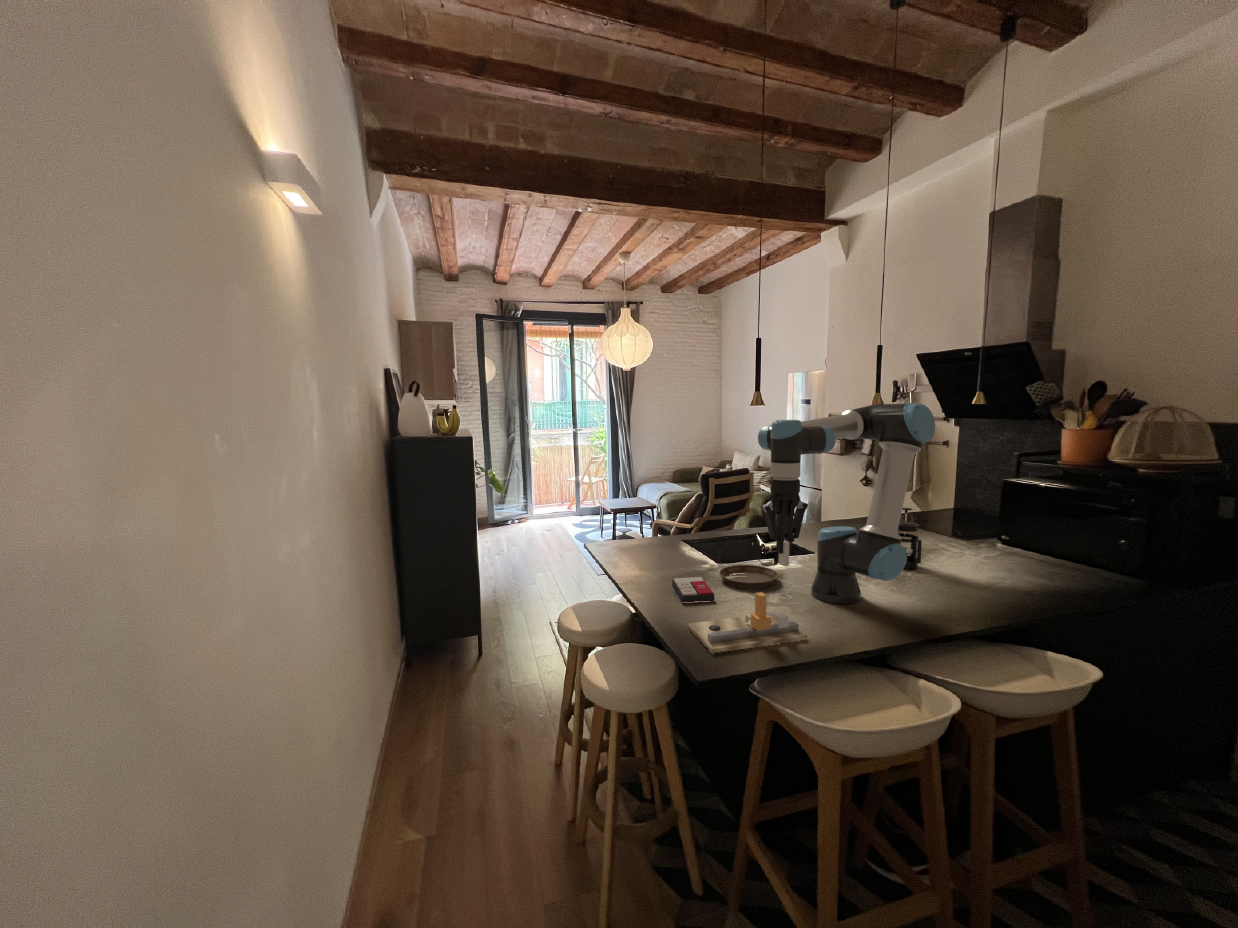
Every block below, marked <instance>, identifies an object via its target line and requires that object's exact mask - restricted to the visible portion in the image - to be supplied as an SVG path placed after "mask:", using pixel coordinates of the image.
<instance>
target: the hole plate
mask: <svg viewBox="0 0 1238 928" xmlns="http://www.w3.org/2000/svg"><path fill="white" fill-rule="evenodd" d="M770 613H771V614H772V615H773V613H777V612H776V611H774V612H770ZM745 616H746V615H744V616H737V617H729V618H721V619H715V620H707V621H706V620H705V621H699V622H692V623H688V624H687V628H688V627H689V628H690V630H691V631H692V632H693V633H694V634H695V635H696V636H697V637H698V639H700V641H701V642H702V643H703V644H704V645H705V647H707V648H708V650H709V651H710V652H711V653H714V652H720V651H731V650H738V649H744V648H749V647H759V648H761V647H760V646H765V645H770V644H777V643H785V644H788V643H787V642H791V643H794V642H793V641H798V642H801V641H800V640H805V641H807V640H808V634H807V633H805V632H804V631H802V630H801V629H800V628H799V631H798V632H791V633H784V634H777V635H770V636H764V637H757V638H750V639H743V640H736V641H729V642H723V643H716V644H710V643H709V642H708V634H709V633H716V632H723V631H730V630H737V629H744V628H752V626H751V621H750V620H749V622H745ZM771 625H773V624H772V620H771ZM690 630H689V631H690ZM698 639H697V640H698ZM700 641H699V642H700ZM705 647H704V648H705ZM765 647H766V646H765ZM708 650H707V651H708ZM709 651H708V652H709Z"/></svg>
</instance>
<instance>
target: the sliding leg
mask: <svg viewBox="0 0 1238 928" xmlns="http://www.w3.org/2000/svg"><path fill="white" fill-rule="evenodd" d="M754 596H755V597H754V613H746V614H745V615H744V616H745V622H749V620H750V621H751V626H752V627H753V628H755V629H756V630H757V631H759V630H766V629H771V617H770V616H768V615H767V614H766V612H767V598H768V597H767V595H766V594H765V593H764V592H763V591H760V592H755V594H754Z"/></svg>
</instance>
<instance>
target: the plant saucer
mask: <svg viewBox="0 0 1238 928" xmlns="http://www.w3.org/2000/svg"><path fill="white" fill-rule="evenodd" d="M733 573H744V574H736V575H731V576H740V577H735V578H732V579H727V578H725V577H726V576H730V574H733ZM745 573H746V574H745ZM719 575H720V577H721V578H722V579H723V581H724V582H726V583H727V584H728V585H730V584H731V585H730V586H732V585H733V587H735V586H736V587H737V588H740V589H748V588H756V589H763V588H768V587H769V586H771V585H772V584H773V583H775V582H776V581H777V579H778V577H779V574H778V572H777V571H776V570H774V569H771V568H769V567H766V566H761V565H759V566H758V565H752V564H751V565H750V564H739V565H730V566H726V567H723V568H722V569H721V570H719ZM741 576H747V577H741ZM734 580H735V581H734Z"/></svg>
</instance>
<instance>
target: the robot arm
mask: <svg viewBox="0 0 1238 928" xmlns="http://www.w3.org/2000/svg"><path fill="white" fill-rule="evenodd" d="M935 430H936V421H935V417H934V414H933V412H932V411H931V409H930V408H929V407H928V406H927V405H925V404H923V403H913V402H907V403H906V402H905V403H878V404H877V403H874V404H871V405H870V404H869V405H867V406H862V407H861V406H860V407H857V408H854V409H853V408H852V409H847V410H845V411H843V412H841V414H837V415H831V416H827V417H820V418H814V419H809V420H808V419H807V420H800V419H777V420H774V421H772V422H771V424H770V425H765V426H763V427H761V429H760V430H759V431H758V435H757V443H758V445H759V446H760V448H761V449H763V450H766V451H770V477H771V478H770V480H769V481H770V484H769V485H770V488H769V489H770V490H769V491H770V497H769V501H768V502H767V503H766V504H763V503H762V504H761V506H760V508H761V509H762V511H763V512H764V516H765V517H764V518H765V521H766V525H767V526H766V527H767V531H768V535H769V539H772V540H774V541H775V542H776V544H775V545H776V547H775V548H776V550H775V551H776V553H778V564H779V565H780V566H782V567H789V566H790V553H792V552H793V551H792V550H793V549H792V547H793V545H792V544H793V543H794V542H795V541H796V540H795V539H799V538H800V534H801V530H802V529H801V528H802V524H803V520H804V517H805V513H806V510H807V509H808V508H809V507H808V506H809V504H808V503H806V502H804V501H802V500H801V496H800V492H801V480H800V479H799V478H800V477H801V469H802V468H801V467H802V465H801V462H802V461H801V458H802V456H801V455H803V456H804V455H818V454H819V455H822V454H826V453H829V452H831V451H832V450H833V449H834V447H835V445H836V440H841V439H846V440H852V441H854V440H870V441H878V445H879V446H880V448H881V449H882V452H881V456H880V461H879V465H878V466H879V467H878V470H877V474H876V478H875V483H874V484H875V485H874V488H873V492H872V497H871V502H870V507H869V511H868V515H867V518H866V519H867V520H866V524H865V526H863V527H860V528H859V531H858V529H857V528H856V527H854V526H839V525H838V526H827V527H822V528H821V529H819V531H818V534H817V535H818V536H817V540H816V541H817V546H816V548H817V550H816V551H817V555H816V556H817V559H816V560H817V566H816V567H817V568H816V573H815V576H814V579H813V583H812V585H811V595H812V596H813V597H814V598H815V599H817V600H820V601H822V602H825V603H830V604H838V605H852V604H857V603H858V602H860V601H861V599H862V591H861V589H860V586H859V585H860V584H859V582H858V579H857V574H856V573H858V574H859V575H860V574H861V575H863V576H866V577H870V578H871V579H875V580H881V581H886V582H888V581H892V580H895V579H896V578H898V576H899V575H900V574H901V573H902V572H903V571H904V570H903V569H904V567H905V564H906V561H907V554H906V549H905V547H906V546H905V547H904V545H903V544H902V542H901V540H902V538H903V537H900V536H899V534H898V531H899V530H898V526H899V522H900V521H901V517H902V513H903V510H902V508H904V502H905V497H906V494H907V489H908V484H909V480H910V476H911V471H912V466H913V461H914V458H915V455H916V454H917V453H920V452H921V450H922V448H923V444H925V443H929V442H930V441H931V440H932V439H933V437H934V436H935V432H936V431H935ZM773 510H774V512H773Z"/></svg>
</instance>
